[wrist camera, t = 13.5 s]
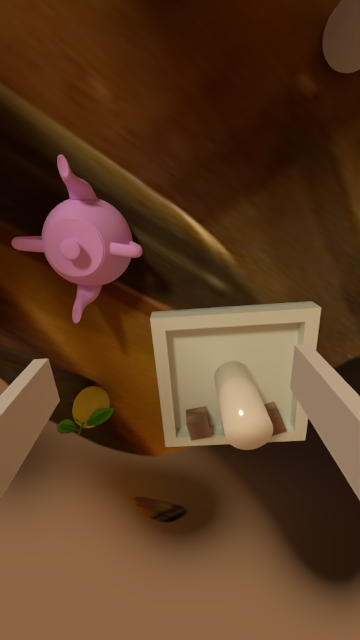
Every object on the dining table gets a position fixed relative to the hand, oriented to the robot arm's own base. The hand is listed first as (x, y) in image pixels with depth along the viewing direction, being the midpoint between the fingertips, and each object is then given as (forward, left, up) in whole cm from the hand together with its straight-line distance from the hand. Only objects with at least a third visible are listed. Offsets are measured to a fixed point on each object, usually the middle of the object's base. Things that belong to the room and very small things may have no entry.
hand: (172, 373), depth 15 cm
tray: (+8, -18, -27) cm, 33 cm away
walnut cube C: (+14, -25, -26) cm, 39 cm away
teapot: (-11, +5, -27) cm, 30 cm away
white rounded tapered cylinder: (+7, -18, -26) cm, 32 cm away
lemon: (-15, -20, -27) cm, 37 cm away
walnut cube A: (+2, -25, -26) cm, 36 cm away
